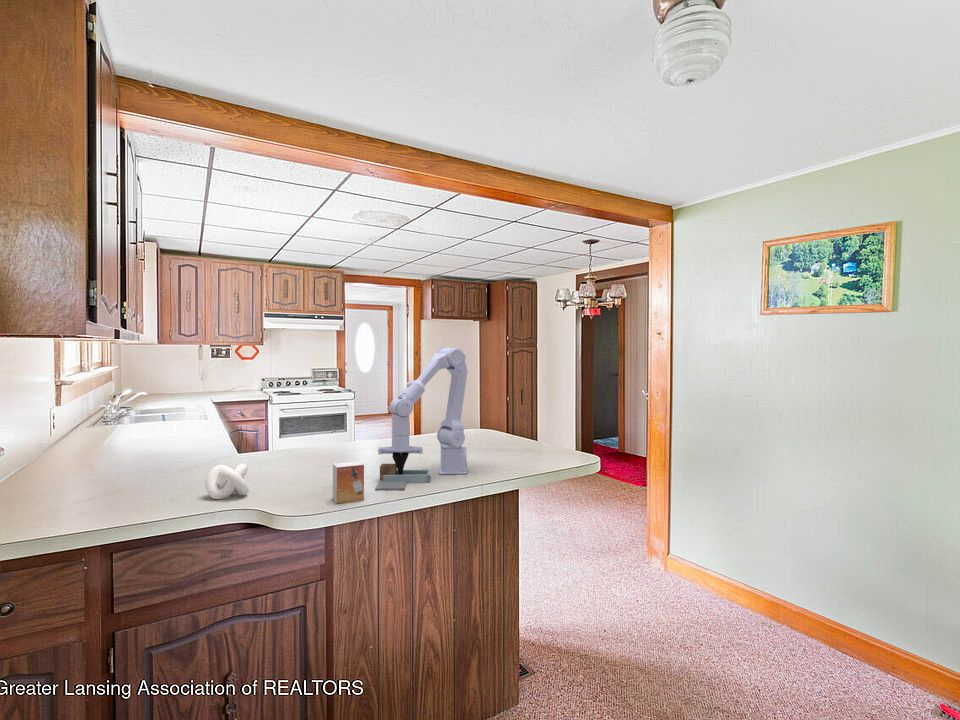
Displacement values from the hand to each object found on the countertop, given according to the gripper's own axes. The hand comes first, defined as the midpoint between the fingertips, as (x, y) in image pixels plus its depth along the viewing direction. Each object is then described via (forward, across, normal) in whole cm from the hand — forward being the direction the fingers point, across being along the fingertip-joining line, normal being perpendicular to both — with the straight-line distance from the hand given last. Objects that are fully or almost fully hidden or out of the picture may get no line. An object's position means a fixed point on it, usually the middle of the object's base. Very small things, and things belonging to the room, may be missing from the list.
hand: (400, 475), depth 164 cm
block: (+2, +4, 0) cm, 4 cm away
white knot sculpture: (+2, +48, +14) cm, 51 cm away
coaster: (+2, +2, +7) cm, 7 cm away
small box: (+2, +14, +20) cm, 24 cm away
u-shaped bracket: (+2, -2, 0) cm, 3 cm away
